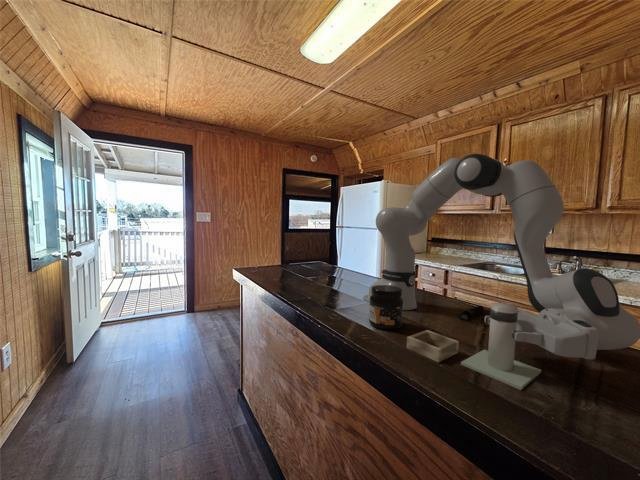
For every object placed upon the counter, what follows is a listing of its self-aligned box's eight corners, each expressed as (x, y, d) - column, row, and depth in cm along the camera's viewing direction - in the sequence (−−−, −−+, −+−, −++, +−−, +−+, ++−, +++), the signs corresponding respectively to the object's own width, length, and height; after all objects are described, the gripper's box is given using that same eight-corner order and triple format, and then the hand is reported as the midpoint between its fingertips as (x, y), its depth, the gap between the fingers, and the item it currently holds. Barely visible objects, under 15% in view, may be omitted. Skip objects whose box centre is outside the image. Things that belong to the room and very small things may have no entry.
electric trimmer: (486, 314, 105) (487, 306, 105) (469, 322, 95) (470, 313, 94) (475, 312, 108) (476, 304, 107) (458, 319, 98) (458, 310, 97)
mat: (460, 364, 65) (460, 362, 65) (484, 351, 72) (484, 349, 72) (520, 390, 55) (521, 387, 55) (541, 372, 62) (541, 369, 62)
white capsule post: (482, 364, 64) (486, 304, 63) (492, 358, 67) (496, 301, 67) (508, 374, 60) (512, 310, 59) (517, 367, 63) (521, 306, 62)
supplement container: (364, 327, 87) (365, 289, 87) (373, 317, 97) (374, 283, 96) (398, 333, 83) (400, 294, 82) (404, 322, 92) (406, 287, 91)
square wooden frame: (406, 348, 73) (407, 336, 73) (426, 340, 78) (426, 329, 78) (438, 362, 66) (439, 350, 66) (458, 352, 71) (458, 341, 71)
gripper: (525, 301, 74) (473, 300, 73) (606, 332, 53) (535, 331, 53) (523, 325, 74) (472, 324, 74) (603, 364, 54) (532, 363, 53)
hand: (498, 327), depth 63 cm, fingers open, 8 cm apart
